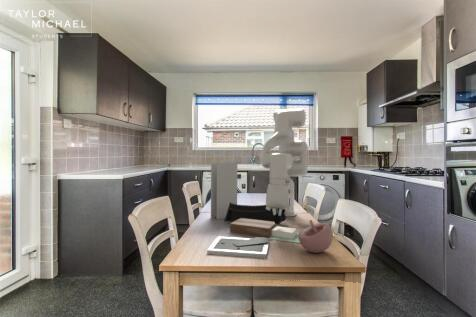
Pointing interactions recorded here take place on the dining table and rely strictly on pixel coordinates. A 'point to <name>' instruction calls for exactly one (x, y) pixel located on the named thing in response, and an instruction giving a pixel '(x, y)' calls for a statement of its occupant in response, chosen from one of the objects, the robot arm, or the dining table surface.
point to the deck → (252, 227)
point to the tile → (283, 232)
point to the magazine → (250, 213)
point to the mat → (293, 240)
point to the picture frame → (240, 247)
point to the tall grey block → (223, 187)
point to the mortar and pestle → (316, 237)
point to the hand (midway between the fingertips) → (277, 224)
